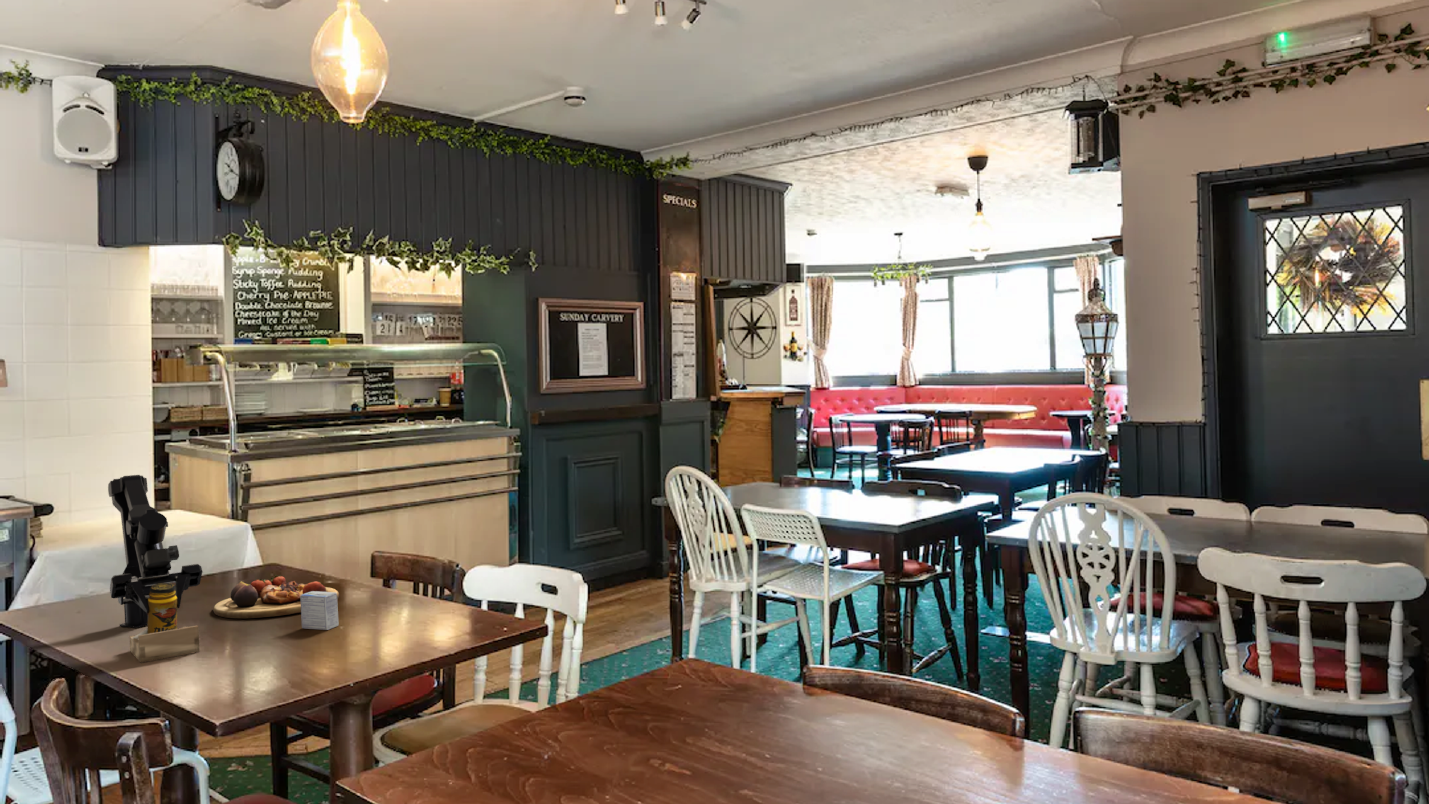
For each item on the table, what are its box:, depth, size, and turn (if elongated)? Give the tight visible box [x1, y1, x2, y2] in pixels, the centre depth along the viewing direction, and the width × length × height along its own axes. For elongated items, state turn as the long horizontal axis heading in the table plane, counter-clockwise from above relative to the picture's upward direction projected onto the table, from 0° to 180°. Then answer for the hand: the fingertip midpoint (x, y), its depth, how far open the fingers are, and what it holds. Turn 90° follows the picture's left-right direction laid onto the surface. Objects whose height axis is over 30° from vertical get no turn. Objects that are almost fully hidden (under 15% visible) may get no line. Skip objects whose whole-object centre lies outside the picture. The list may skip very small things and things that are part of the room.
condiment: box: [133, 583, 178, 640], centre depth 229 cm, size 7×8×12 cm
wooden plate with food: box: [212, 574, 340, 619], centre depth 272 cm, size 32×32×8 cm
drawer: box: [128, 625, 201, 664], centre depth 228 cm, size 13×12×6 cm
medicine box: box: [300, 591, 339, 631], centre depth 246 cm, size 8×4×9 cm, turn 71°
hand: (163, 609), depth 228 cm, fingers open, 6 cm apart
